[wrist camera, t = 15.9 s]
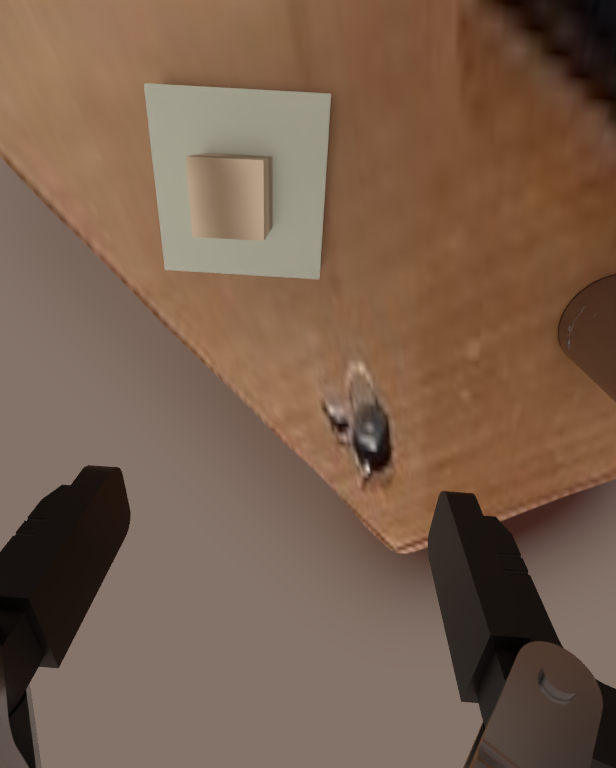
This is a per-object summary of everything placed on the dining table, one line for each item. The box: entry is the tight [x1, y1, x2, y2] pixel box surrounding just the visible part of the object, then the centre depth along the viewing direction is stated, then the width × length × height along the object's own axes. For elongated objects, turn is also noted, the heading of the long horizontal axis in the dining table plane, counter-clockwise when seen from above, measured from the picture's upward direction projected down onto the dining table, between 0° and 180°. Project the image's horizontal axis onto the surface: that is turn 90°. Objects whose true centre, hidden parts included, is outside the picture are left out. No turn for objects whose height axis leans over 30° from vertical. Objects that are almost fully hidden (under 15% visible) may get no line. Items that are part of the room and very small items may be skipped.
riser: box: [144, 83, 331, 279], centre depth 35 cm, size 13×13×4 cm
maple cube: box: [186, 153, 273, 241], centre depth 32 cm, size 5×5×5 cm
